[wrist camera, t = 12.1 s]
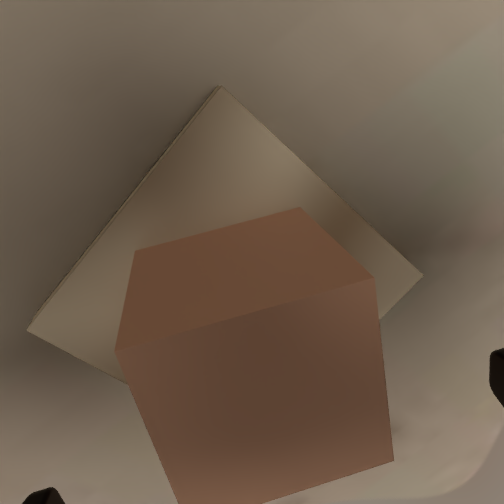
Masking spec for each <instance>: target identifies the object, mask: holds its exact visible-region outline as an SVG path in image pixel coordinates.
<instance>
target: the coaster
mask: <svg viewBox="0 0 504 504" xmlns="http://www.w3.org/2000/svg"><path fill="white" fill-rule="evenodd" d="M298 207H301V208H302V209H303V210H304V211H305V212H306V213H307V214H308V215H309V216H310V217H311V218H312V219H313V220H314V221H315V222H316V223H317V224H319V225H320V226H321V227H322V228H323V229H324V230H325V231H326V232H327V233H328V234H329V235H330V236H331V237H332V238H333V239H334V240H335V241H336V242H338V243H339V244H340V245H341V246H342V247H343V248H344V249H345V250H346V251H347V252H348V253H349V254H350V255H351V256H352V257H353V258H354V259H355V260H357V261H358V262H359V263H360V264H361V265H362V266H363V267H364V268H365V269H366V270H367V271H368V272H369V273H370V274H371V275H372V276H373V277H374V278H375V287H376V296H377V305H378V315H379V320H380V319H381V318H382V317H383V316H384V315H385V314H386V313H387V312H388V311H389V310H390V309H391V308H392V307H393V306H394V305H395V304H396V303H397V302H398V301H399V300H400V299H401V298H402V297H403V296H404V295H405V294H406V293H407V292H408V291H409V290H410V289H411V288H412V287H413V286H414V285H415V284H416V283H417V282H418V281H419V280H420V279H421V278H422V277H423V276H424V275H423V274H422V273H421V272H420V271H418V270H417V269H416V268H415V267H414V266H413V265H412V264H411V263H410V262H409V261H408V260H407V259H406V258H405V257H404V256H402V255H401V254H400V253H399V252H398V251H397V250H396V249H395V248H394V247H393V246H392V245H391V244H390V243H389V242H388V241H387V240H385V239H384V238H383V237H382V236H381V235H380V234H379V233H378V232H377V231H376V230H375V229H374V228H373V227H372V226H371V225H369V224H368V223H367V222H366V221H365V220H364V219H363V218H362V217H361V216H360V215H359V214H358V213H357V212H356V211H355V210H353V209H352V208H351V207H350V206H349V205H348V204H347V203H346V202H345V201H344V200H343V199H342V198H341V197H340V196H339V195H338V194H336V193H335V192H334V191H333V190H332V189H331V188H330V187H329V186H328V185H327V184H326V183H325V182H324V181H323V180H322V179H320V178H319V177H318V176H317V175H316V174H315V173H314V172H313V171H312V170H311V169H310V168H309V167H308V166H307V165H306V164H305V163H303V162H302V161H301V160H300V159H299V158H298V157H297V156H296V155H295V154H294V153H293V152H292V151H291V150H290V149H289V148H287V147H286V146H285V145H284V144H283V143H282V142H281V141H280V140H279V139H278V138H277V137H276V136H275V135H274V134H273V133H271V132H270V131H269V130H268V129H267V128H266V127H265V126H264V125H263V124H262V123H261V122H260V121H259V120H258V119H257V118H256V117H254V116H253V115H252V114H251V113H250V112H249V111H248V110H247V109H246V108H245V107H244V106H243V105H242V104H241V103H240V102H238V101H237V100H236V99H235V98H234V97H233V96H232V95H231V94H230V93H229V92H228V91H227V90H226V89H225V88H224V87H223V86H217V87H216V89H215V90H214V91H213V92H212V94H211V95H210V96H209V97H208V99H207V100H206V101H205V102H204V104H203V105H202V106H201V107H200V109H199V110H198V111H197V112H196V114H195V115H194V116H193V117H192V119H191V120H190V121H189V122H188V124H187V125H186V126H185V127H184V129H183V130H182V131H181V132H180V134H179V135H178V136H177V137H176V139H175V140H174V141H173V142H172V144H171V145H170V146H169V147H168V149H167V150H166V151H165V152H164V154H163V155H162V156H161V157H160V159H159V160H158V161H157V162H156V164H155V165H154V166H153V167H152V169H151V170H150V171H149V172H148V174H147V175H146V176H145V177H144V179H143V180H142V181H141V183H140V184H139V185H138V186H137V188H136V189H135V190H134V191H133V193H132V194H131V195H130V196H129V198H128V199H127V200H126V201H125V203H124V204H123V205H122V206H121V208H120V209H119V210H118V211H117V213H116V214H115V215H114V216H113V218H112V219H111V220H110V221H109V223H108V224H107V225H106V226H105V228H104V229H103V230H102V231H101V233H100V234H99V235H98V236H97V238H96V239H95V240H94V241H93V243H92V244H91V245H90V246H89V248H88V249H87V250H86V251H85V253H84V254H83V255H82V256H81V258H80V259H79V260H78V261H77V263H76V264H75V265H74V266H73V268H72V269H71V270H70V271H69V273H68V274H67V275H66V276H65V278H64V279H63V280H62V281H61V283H60V284H59V285H58V286H57V288H56V289H55V290H54V291H53V293H52V294H51V295H50V297H49V298H48V299H47V300H46V302H45V303H44V304H43V305H42V307H41V308H40V309H39V310H38V312H37V313H36V314H35V316H34V318H33V319H32V321H31V323H30V325H29V326H28V328H27V330H26V331H28V332H30V333H32V334H34V335H35V336H37V337H39V338H41V339H43V340H45V341H47V342H49V343H50V344H52V345H54V346H56V347H58V348H60V349H62V350H64V351H65V352H67V353H69V354H71V355H73V356H75V357H77V358H79V359H80V360H82V361H84V362H86V363H88V364H90V365H92V366H93V367H95V368H97V369H99V370H101V371H103V372H105V373H107V374H108V375H110V376H112V377H114V378H116V379H118V380H120V381H122V382H123V383H125V384H127V385H128V383H127V381H126V378H125V376H124V374H123V371H122V369H121V367H120V364H119V362H118V360H117V357H116V355H115V352H114V350H115V345H116V340H117V335H118V331H119V326H120V321H121V316H122V311H123V306H124V302H125V297H126V292H127V287H128V282H129V277H130V272H131V268H132V263H133V258H134V253H135V251H136V250H140V249H144V248H147V247H151V246H155V245H159V244H162V243H166V242H170V241H174V240H177V239H181V238H185V237H189V236H193V235H196V234H200V233H204V232H208V231H211V230H215V229H219V228H223V227H226V226H230V225H234V224H238V223H242V222H245V221H249V220H253V219H257V218H260V217H264V216H268V215H272V214H275V213H279V212H283V211H287V210H291V209H294V208H298Z"/></svg>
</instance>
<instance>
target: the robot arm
mask: <svg viewBox="0 0 504 504" xmlns="http://www.w3.org/2000/svg"><path fill="white" fill-rule="evenodd" d="M489 383H490V387H491V389H492V391H493V393H494V395H495V396H496V397H497V399H498V400H499V402H500V403H501V404H502V406H503V407H504V348H502V349H499V350H495V351H493V352H492V353H491V355H490V371H489ZM22 504H65V503H64V501H63V499H62V498H61V496H60V494H59V493H58V491H57V490H56V489H55V488H53V487H49V488H46V489H43V490H40V491H36V492H33V493H32V494H30V495H29V496H28V497H27V498H26V499H25V501H24V502H23V503H22Z"/></svg>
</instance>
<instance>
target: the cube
mask: <svg viewBox="0 0 504 504" xmlns="http://www.w3.org/2000/svg"><path fill="white" fill-rule="evenodd" d="M114 352H115V355H116V357H117V360H118V362H119V364H120V367H121V369H122V371H123V374H124V376H125V378H126V381H127V383H128V385H129V388H130V390H131V393H132V395H133V397H134V400H135V402H136V404H137V407H138V409H139V411H140V414H141V416H142V418H143V421H144V423H145V426H146V428H147V430H148V433H149V435H150V437H151V440H152V442H153V444H154V447H155V449H156V452H157V454H158V456H159V459H160V461H161V463H162V466H163V468H164V470H165V473H166V475H167V477H168V480H169V482H170V485H171V487H172V489H173V492H174V494H175V496H176V499H177V501H178V503H179V504H262V503H265V502H268V501H271V500H275V499H278V498H281V497H284V496H287V495H290V494H293V493H296V492H299V491H302V490H305V489H308V488H312V487H315V486H318V485H321V484H324V483H327V482H330V481H333V480H336V479H339V478H342V477H345V476H349V475H352V474H355V473H358V472H361V471H364V470H367V469H370V468H373V467H376V466H379V465H382V464H385V463H389V462H392V461H394V456H393V447H392V437H391V428H390V418H389V409H388V400H387V390H386V381H385V371H384V362H383V352H382V343H381V334H380V324H379V315H378V305H377V296H376V287H375V278H374V277H373V276H372V275H371V274H370V273H369V272H368V271H367V270H366V269H365V268H364V267H363V266H362V265H361V264H360V263H359V262H358V261H357V260H355V259H354V258H353V257H352V256H351V255H350V254H349V253H348V252H347V251H346V250H345V249H344V248H343V247H342V246H341V245H340V244H339V243H338V242H336V241H335V240H334V239H333V238H332V237H331V236H330V235H329V234H328V233H327V232H326V231H325V230H324V229H323V228H322V227H321V226H320V225H319V224H317V223H316V222H315V221H314V220H313V219H312V218H311V217H310V216H309V215H308V214H307V213H306V212H305V211H304V210H303V209H302V208H301V207H298V208H294V209H291V210H287V211H283V212H279V213H275V214H272V215H268V216H264V217H260V218H257V219H253V220H249V221H245V222H242V223H238V224H234V225H230V226H226V227H223V228H219V229H215V230H211V231H208V232H204V233H200V234H196V235H193V236H189V237H185V238H181V239H177V240H174V241H170V242H166V243H162V244H159V245H155V246H151V247H147V248H144V249H140V250H136V251H135V253H134V258H133V263H132V268H131V272H130V277H129V282H128V287H127V292H126V297H125V302H124V306H123V311H122V316H121V321H120V326H119V331H118V335H117V340H116V345H115V350H114Z"/></svg>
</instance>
